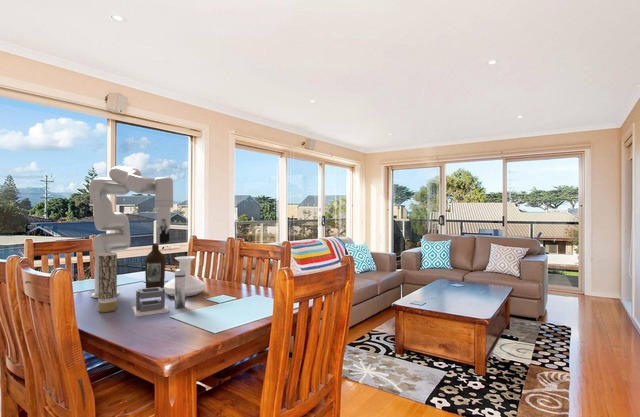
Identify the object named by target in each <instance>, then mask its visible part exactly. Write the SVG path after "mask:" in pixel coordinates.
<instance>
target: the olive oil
mask: <svg viewBox="0 0 640 417" xmlns="http://www.w3.org/2000/svg"><path fill="white" fill-rule="evenodd" d="M159 244H160V242H159V243H157V242H155V243H154V242H153V243H152V246H151V251H150V252H149V253H148V254H147V255H146V256H145V258H144V270H145V275H144V276H145V288H155V287H160V288H164V285H165V278H166V277H165V276H166V274H165V273H166V261H167V260H166V256H165V254H163V252H161V250H159V248H160V247H159V246H160V245H159Z"/></svg>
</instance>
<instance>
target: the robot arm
mask: <svg viewBox="0 0 640 417" xmlns="http://www.w3.org/2000/svg"><path fill="white" fill-rule="evenodd" d="M108 175H109V177H97V178H94V179H92V180H91V182H90V184H89V187H88V192H89V197H90V199H91V203H92V209H93V211H92V212H93V219H94V220H93V222H94V227H95V229H96V230H97V231H100V232H107V233H100V234H99V233H98V234H97V235H96V236H94V238H92V248H93V253H94V254H93V255H94V292H92V293H91V294H90V297H91V298H94V299H98V294H99V254H100V253H114V252H121V251H125V250H128V249H129V248H130V247H131V246H130V245H131V240H132V239H131V232H130V231H131V229H130V220H129V217H128V216H127V215H126V213H124V212H114V210H113V203H112V201H111V199H110V198H109V197H108V196H107V195H112V196H123V195H125V196H126V195H127V194H128V193H130V192H134V193H136V194H141V195H142V194H143V195H145V194H147V195H154V199H155V200H154V201H155V202H154V207H155V209H157V211H156V213H157V214H156V217H157V218H156V219H157V220H156V229H157V230H159V244H167V243H168V242H170V228H171V219H172V218H171V217H172V216H171V214H172V212H171V209H172V208H174V179H173V178H172V177H169V176H168V177H167V176H163V177H162V176H161V177H156V178H155V177H148V176H147V177H145V176H143V175H142V172H141V170H139V169H138V168H136V167H131V166H130V167H129V166H123V165H122V166H120V165H118V166H114V167H111V168H110V170H109V172H108ZM109 231H111V232H109ZM112 231H115V232H112ZM118 295H120V290H117V296H118Z"/></svg>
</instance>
